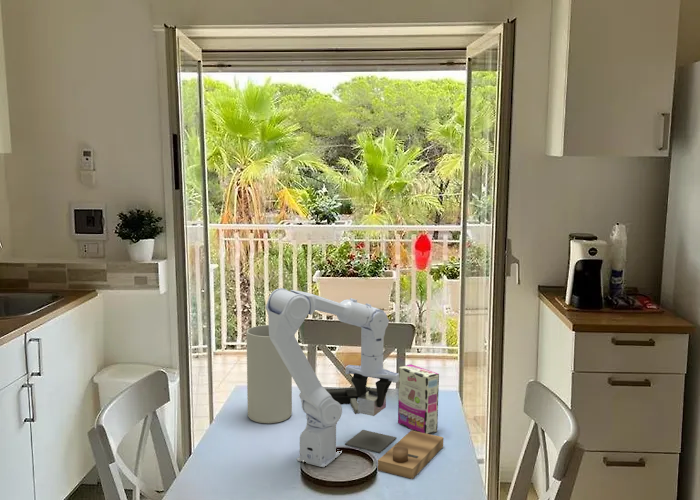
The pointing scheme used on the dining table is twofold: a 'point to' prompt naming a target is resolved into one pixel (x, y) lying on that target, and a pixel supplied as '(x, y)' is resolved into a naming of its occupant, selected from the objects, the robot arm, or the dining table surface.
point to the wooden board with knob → (410, 454)
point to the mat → (370, 441)
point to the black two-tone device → (346, 396)
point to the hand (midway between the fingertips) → (371, 404)
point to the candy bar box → (418, 399)
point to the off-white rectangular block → (369, 403)
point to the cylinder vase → (266, 379)
